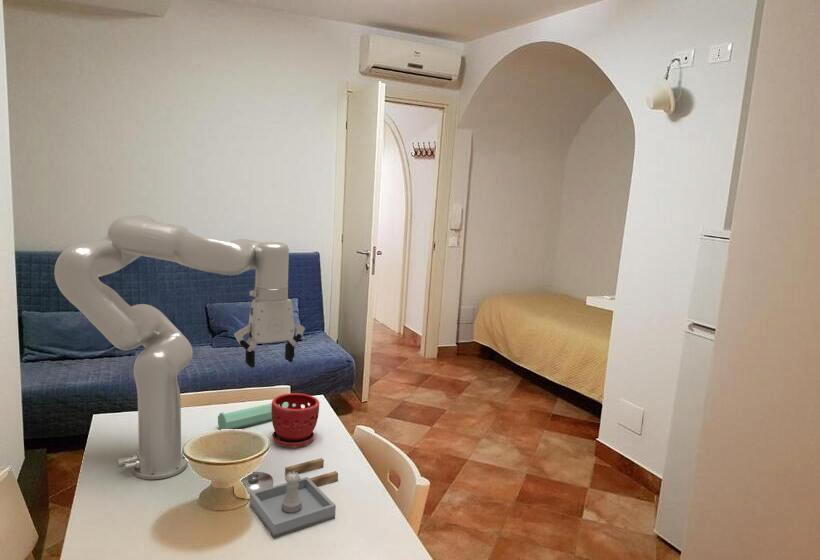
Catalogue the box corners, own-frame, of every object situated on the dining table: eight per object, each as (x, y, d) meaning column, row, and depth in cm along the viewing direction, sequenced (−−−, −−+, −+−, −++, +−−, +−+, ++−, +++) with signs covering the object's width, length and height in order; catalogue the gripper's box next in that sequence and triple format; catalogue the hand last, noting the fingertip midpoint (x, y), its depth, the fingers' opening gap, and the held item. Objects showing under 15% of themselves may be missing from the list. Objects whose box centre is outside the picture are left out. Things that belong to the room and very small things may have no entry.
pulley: (241, 503, 124) (241, 490, 123) (228, 485, 131) (228, 472, 130) (278, 492, 129) (279, 480, 128) (264, 475, 136) (264, 463, 136)
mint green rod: (295, 392, 176) (219, 408, 159) (304, 404, 173) (228, 422, 156) (290, 406, 179) (216, 423, 162) (299, 418, 175) (224, 437, 158)
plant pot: (296, 455, 147) (298, 413, 145) (260, 442, 154) (261, 401, 152) (327, 438, 159) (328, 398, 157) (292, 426, 165) (293, 388, 163)
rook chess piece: (297, 515, 119) (298, 481, 118) (278, 511, 120) (279, 477, 119) (305, 504, 124) (306, 470, 122) (286, 501, 124) (287, 468, 123)
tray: (274, 538, 112) (274, 525, 112) (249, 505, 123) (250, 492, 123) (335, 518, 120) (335, 505, 120) (307, 488, 132) (307, 476, 131)
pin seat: (300, 491, 130) (300, 483, 130) (285, 475, 137) (285, 467, 137) (337, 480, 136) (338, 473, 136) (321, 465, 143) (321, 458, 143)
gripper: (241, 299, 123) (240, 373, 126) (311, 294, 133) (309, 362, 136) (230, 293, 129) (229, 363, 132) (298, 289, 139) (296, 354, 142)
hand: (270, 363), depth 134 cm, fingers open, 9 cm apart
